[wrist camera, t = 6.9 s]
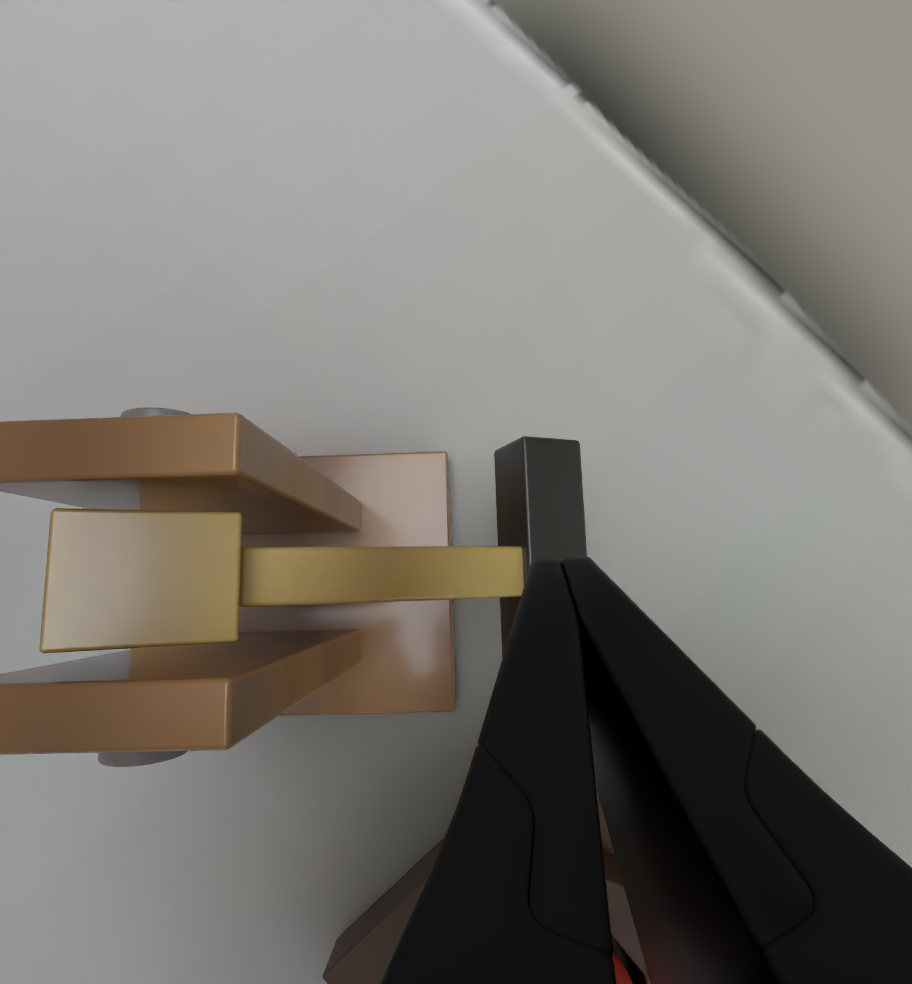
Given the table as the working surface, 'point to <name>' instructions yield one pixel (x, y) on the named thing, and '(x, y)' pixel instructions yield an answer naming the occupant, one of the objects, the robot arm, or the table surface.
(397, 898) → the button box
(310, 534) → the switch bracket
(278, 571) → the switch lever
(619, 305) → the table surface
